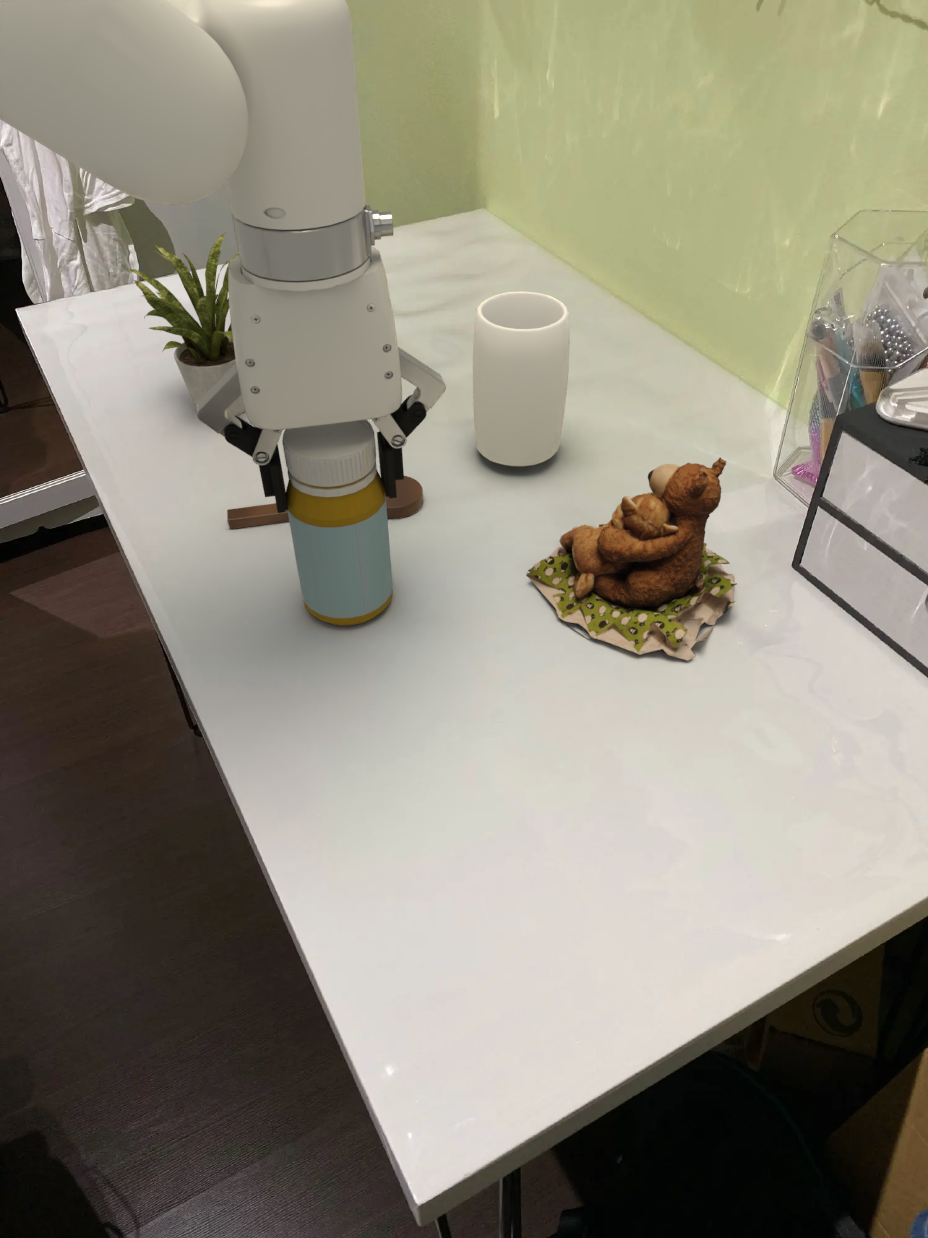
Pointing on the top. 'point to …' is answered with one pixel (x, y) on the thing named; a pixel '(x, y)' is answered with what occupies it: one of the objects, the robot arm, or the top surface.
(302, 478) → the bottle
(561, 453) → the top surface
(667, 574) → the bear figurine
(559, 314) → the cup
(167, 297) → the house plant
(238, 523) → the spoon
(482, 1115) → the top surface
